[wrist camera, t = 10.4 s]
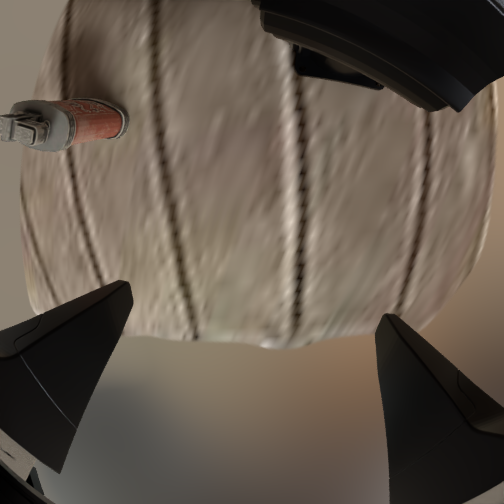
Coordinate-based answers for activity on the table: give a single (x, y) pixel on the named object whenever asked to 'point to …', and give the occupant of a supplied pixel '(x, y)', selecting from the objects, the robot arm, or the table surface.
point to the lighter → (62, 123)
